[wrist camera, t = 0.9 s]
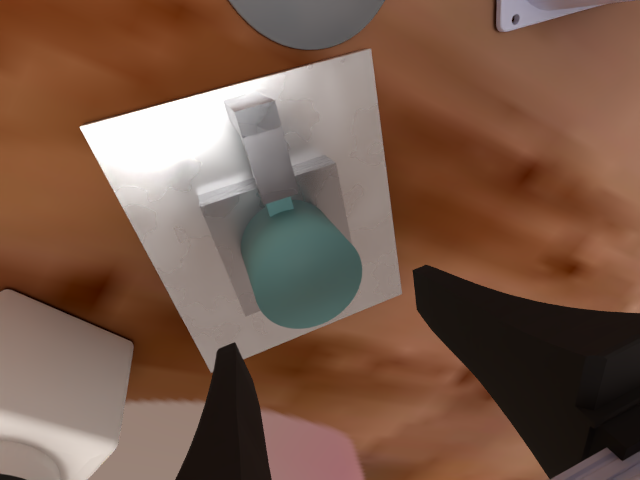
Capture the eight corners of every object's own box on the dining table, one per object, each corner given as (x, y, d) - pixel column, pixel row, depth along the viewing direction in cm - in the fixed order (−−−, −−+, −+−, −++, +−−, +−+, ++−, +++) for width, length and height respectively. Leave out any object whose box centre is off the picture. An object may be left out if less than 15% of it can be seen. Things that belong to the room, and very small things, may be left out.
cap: (308, 128, 17) (339, 146, 14) (339, 265, 21) (369, 304, 18) (205, 160, 17) (212, 187, 13) (257, 296, 21) (272, 344, 17)
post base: (364, 48, 19) (416, 46, 15) (396, 287, 27) (436, 330, 23) (83, 123, 17) (50, 147, 12) (210, 363, 25) (216, 427, 20)
